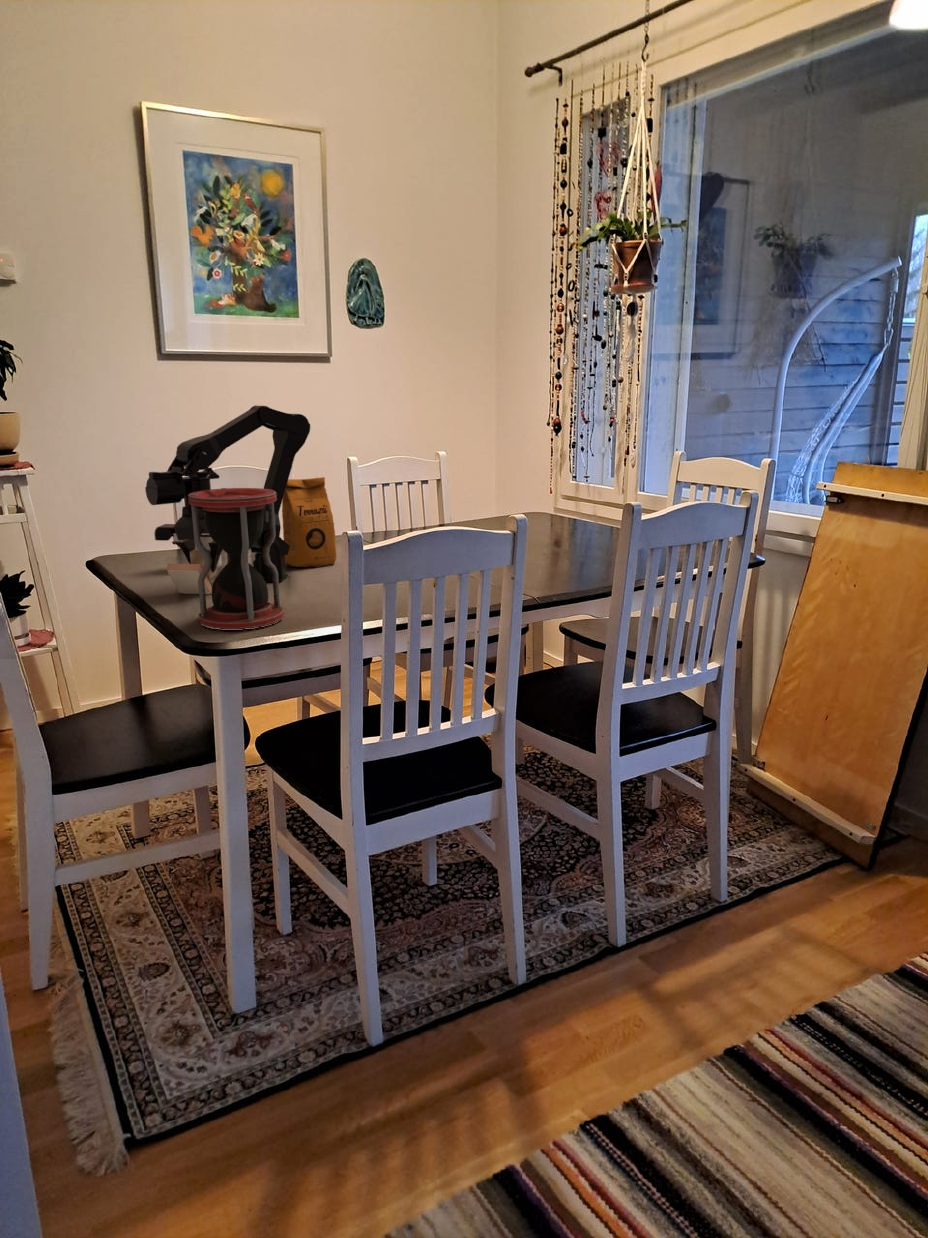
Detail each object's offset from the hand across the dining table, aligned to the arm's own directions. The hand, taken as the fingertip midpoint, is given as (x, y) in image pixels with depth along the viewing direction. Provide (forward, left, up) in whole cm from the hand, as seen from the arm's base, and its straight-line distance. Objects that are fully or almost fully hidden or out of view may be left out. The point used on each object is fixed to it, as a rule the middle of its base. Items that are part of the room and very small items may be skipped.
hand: (203, 571), depth 189 cm
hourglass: (-16, +22, -5) cm, 28 cm away
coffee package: (-16, -30, -5) cm, 34 cm away
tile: (+1, +2, -4) cm, 5 cm away
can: (+9, -24, -5) cm, 26 cm away
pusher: (0, 0, -1) cm, 1 cm away
